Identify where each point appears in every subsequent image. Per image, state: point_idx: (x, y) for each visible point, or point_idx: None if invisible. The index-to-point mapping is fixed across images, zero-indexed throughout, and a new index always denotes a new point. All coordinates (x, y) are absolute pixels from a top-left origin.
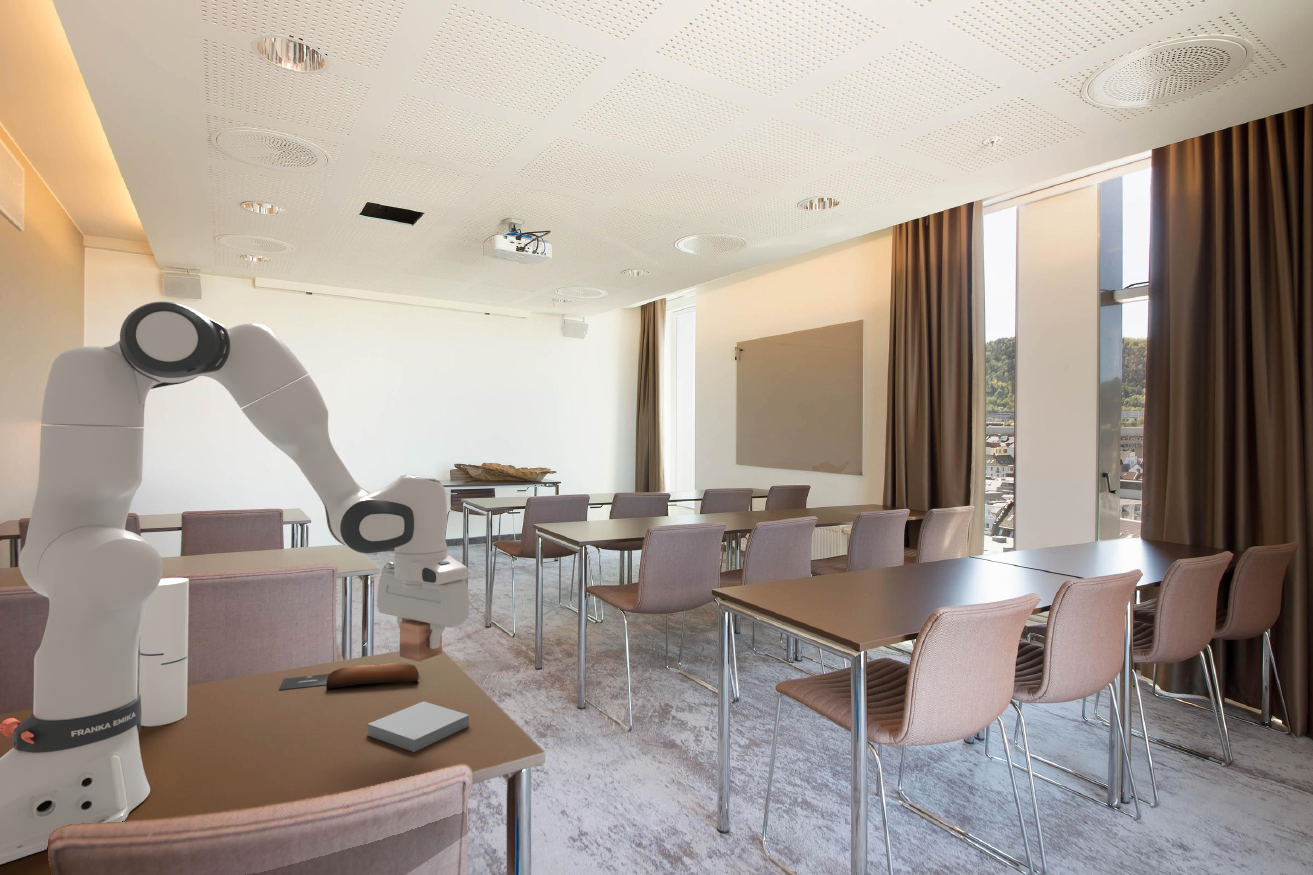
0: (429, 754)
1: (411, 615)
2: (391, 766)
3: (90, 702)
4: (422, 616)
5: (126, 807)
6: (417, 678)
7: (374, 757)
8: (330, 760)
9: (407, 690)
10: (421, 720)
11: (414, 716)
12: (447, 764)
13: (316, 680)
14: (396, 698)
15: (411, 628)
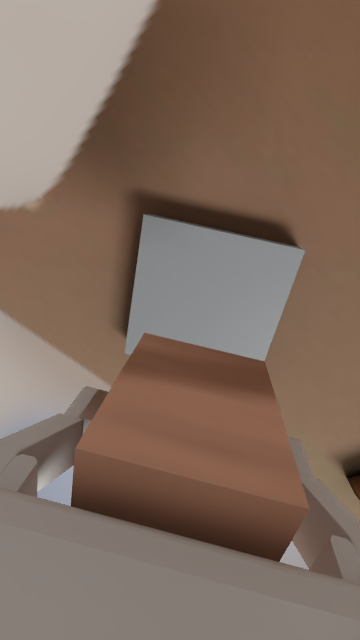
0: (115, 216)
1: (189, 580)
2: (148, 137)
3: None
4: (20, 550)
5: None
6: (349, 482)
7: (211, 159)
8: (301, 101)
9: (348, 446)
10: (196, 304)
11: (224, 317)
12: (56, 192)
13: None
14: (348, 411)
15: (168, 447)
